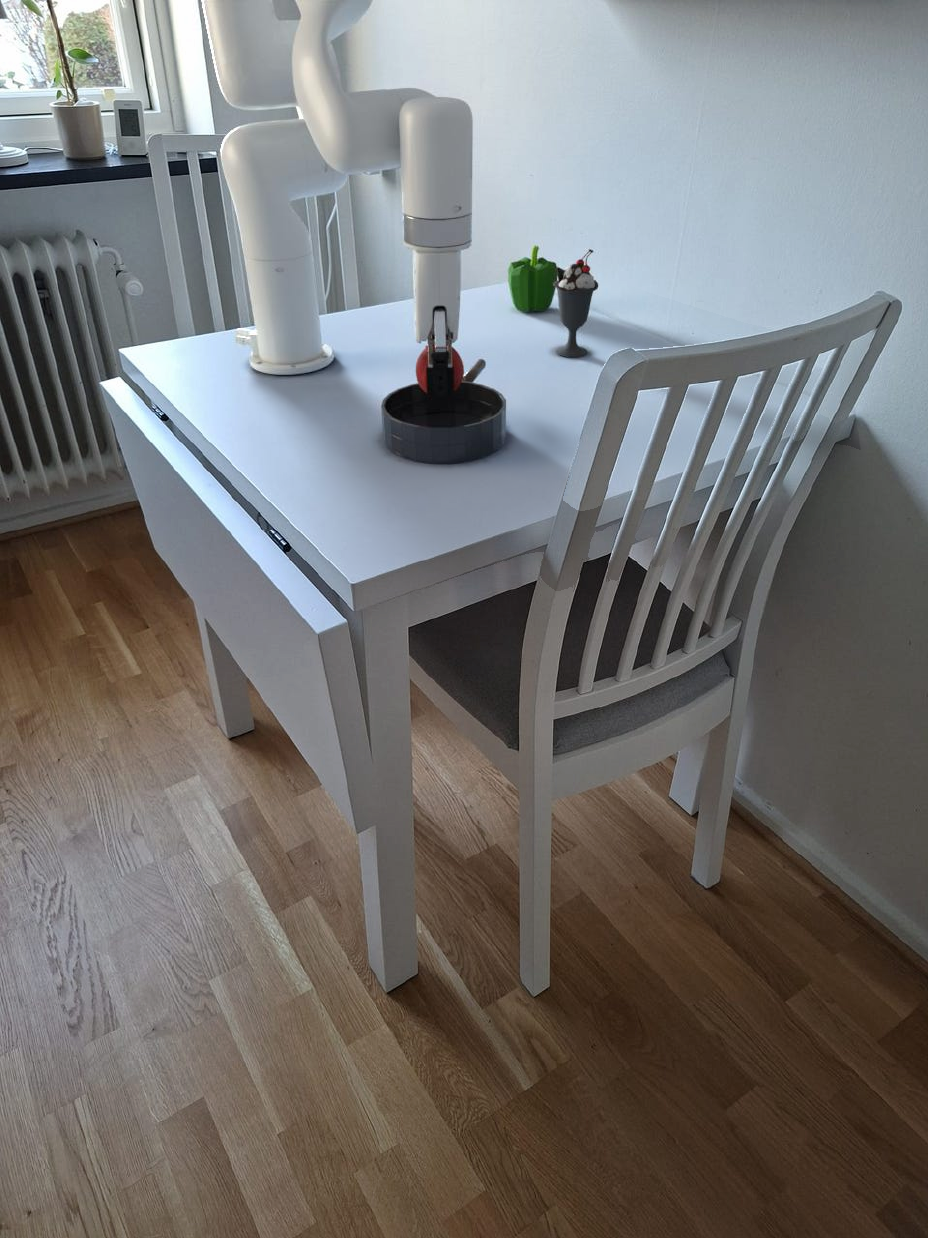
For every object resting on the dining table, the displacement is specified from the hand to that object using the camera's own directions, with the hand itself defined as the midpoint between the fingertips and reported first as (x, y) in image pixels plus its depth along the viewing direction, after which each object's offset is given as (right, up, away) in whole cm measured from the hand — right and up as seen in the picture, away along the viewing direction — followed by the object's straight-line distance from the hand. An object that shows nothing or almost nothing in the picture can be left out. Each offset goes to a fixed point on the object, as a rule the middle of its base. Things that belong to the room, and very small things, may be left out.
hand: (439, 386), depth 105 cm
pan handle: (+4, +4, +11) cm, 12 cm away
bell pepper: (+15, +26, +46) cm, 55 cm away
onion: (0, -2, +1) cm, 2 cm away
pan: (+1, -5, +3) cm, 6 cm away
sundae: (+20, +13, +28) cm, 36 cm away
